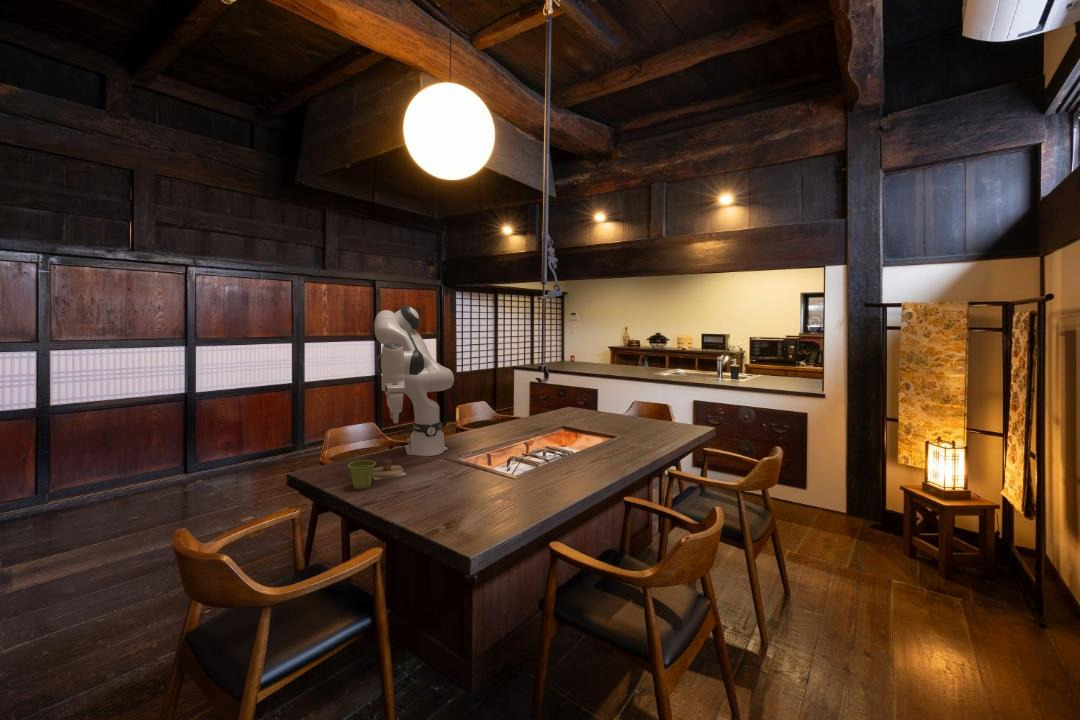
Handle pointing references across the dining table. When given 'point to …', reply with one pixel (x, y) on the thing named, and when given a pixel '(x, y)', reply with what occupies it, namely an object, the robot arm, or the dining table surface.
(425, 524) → the dining table surface
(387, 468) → the lid
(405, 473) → the mat
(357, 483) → the plant pot
